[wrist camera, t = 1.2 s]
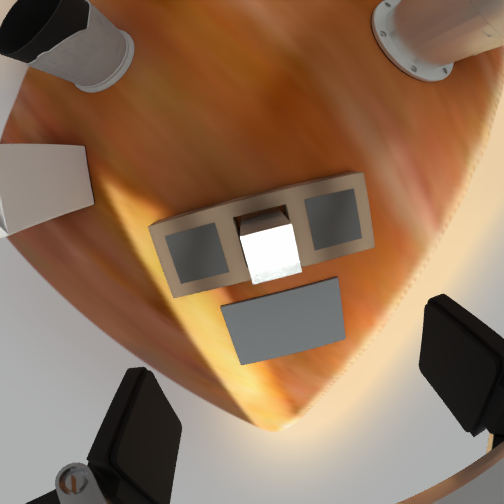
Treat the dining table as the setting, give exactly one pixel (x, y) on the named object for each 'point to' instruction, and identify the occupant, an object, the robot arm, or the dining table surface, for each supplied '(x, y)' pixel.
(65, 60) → the glass holder
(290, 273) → the grey rectangular block
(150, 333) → the dining table surface
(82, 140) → the dining table surface
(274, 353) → the mat
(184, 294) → the rail
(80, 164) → the milk carton
